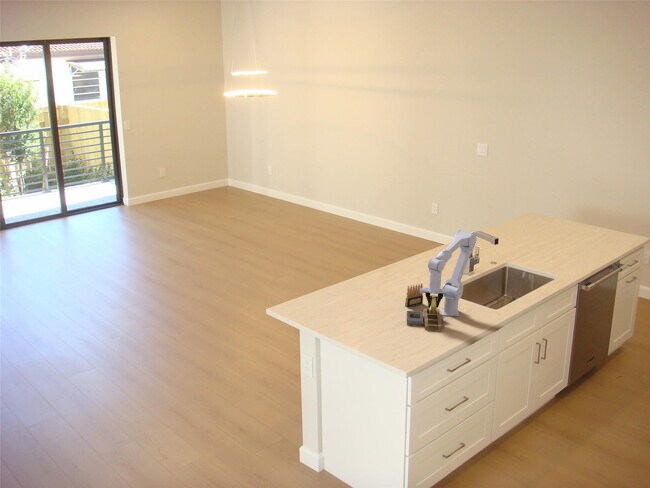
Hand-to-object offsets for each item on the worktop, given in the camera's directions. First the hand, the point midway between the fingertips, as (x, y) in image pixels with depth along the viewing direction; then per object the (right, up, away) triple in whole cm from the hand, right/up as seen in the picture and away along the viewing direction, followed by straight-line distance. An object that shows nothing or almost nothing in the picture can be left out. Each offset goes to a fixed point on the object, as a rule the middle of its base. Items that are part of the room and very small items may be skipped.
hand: (433, 306), depth 364 cm
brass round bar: (0, -3, +1) cm, 3 cm away
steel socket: (-9, -7, +3) cm, 12 cm away
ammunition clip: (-7, -1, +22) cm, 24 cm away
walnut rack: (0, -8, +3) cm, 8 cm away
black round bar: (+1, -6, +9) cm, 11 cm away
